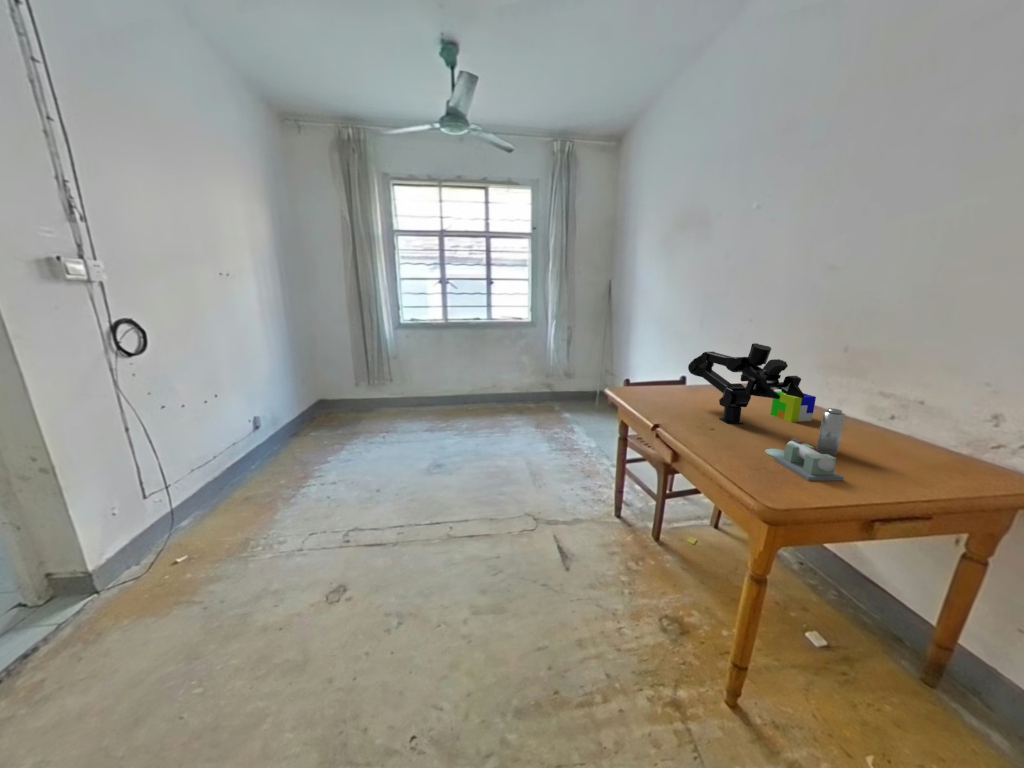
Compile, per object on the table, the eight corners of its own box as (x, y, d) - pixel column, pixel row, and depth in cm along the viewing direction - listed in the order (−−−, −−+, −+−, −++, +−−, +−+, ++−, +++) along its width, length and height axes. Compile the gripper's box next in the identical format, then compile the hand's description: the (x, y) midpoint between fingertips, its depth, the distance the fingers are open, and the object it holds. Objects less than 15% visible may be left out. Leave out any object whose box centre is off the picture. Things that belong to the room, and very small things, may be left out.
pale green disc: (759, 449, 134) (759, 448, 134) (783, 449, 134) (783, 448, 134) (775, 459, 126) (775, 458, 126) (801, 458, 127) (801, 458, 126)
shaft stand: (773, 459, 126) (777, 438, 124) (805, 459, 126) (809, 438, 124) (807, 480, 112) (812, 456, 110) (843, 480, 112) (848, 456, 111)
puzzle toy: (811, 420, 165) (816, 396, 163) (790, 422, 163) (795, 397, 160) (790, 413, 174) (794, 390, 172) (770, 414, 172) (774, 391, 170)
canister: (811, 448, 135) (819, 407, 132) (828, 448, 136) (836, 407, 133) (825, 454, 130) (833, 412, 127) (841, 454, 130) (850, 412, 127)
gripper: (742, 355, 143) (775, 375, 129) (789, 355, 146) (825, 374, 132) (732, 384, 148) (763, 406, 134) (777, 382, 151) (812, 404, 137)
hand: (791, 397), depth 134 cm, fingers open, 9 cm apart
